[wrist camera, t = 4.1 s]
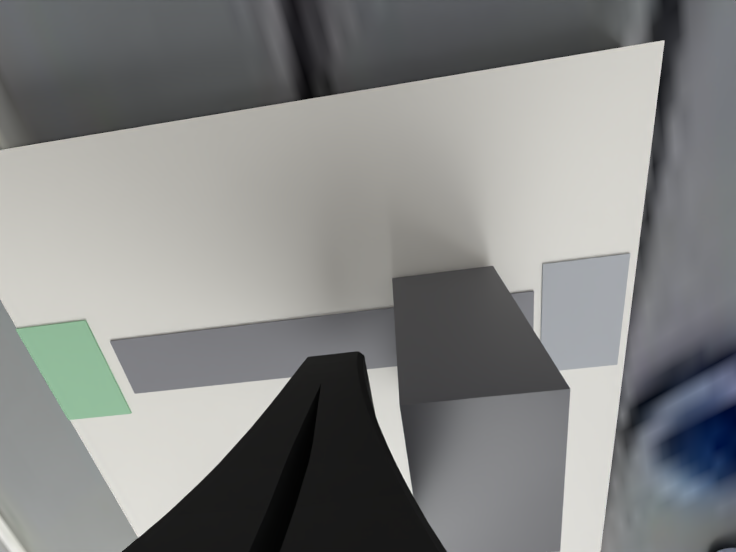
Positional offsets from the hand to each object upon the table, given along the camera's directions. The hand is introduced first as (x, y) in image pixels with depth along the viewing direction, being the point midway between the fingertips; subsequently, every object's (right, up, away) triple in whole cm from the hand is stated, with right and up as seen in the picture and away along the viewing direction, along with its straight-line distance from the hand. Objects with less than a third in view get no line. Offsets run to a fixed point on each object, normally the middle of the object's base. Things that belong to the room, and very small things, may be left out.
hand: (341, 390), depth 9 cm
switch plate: (0, -4, +6) cm, 7 cm away
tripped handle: (+3, +1, +1) cm, 3 cm away
